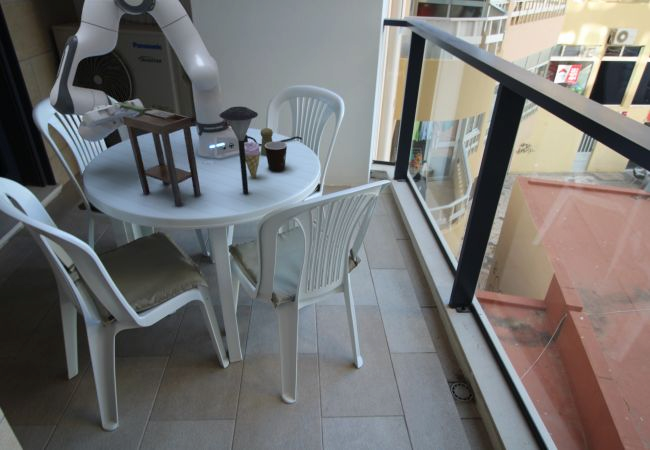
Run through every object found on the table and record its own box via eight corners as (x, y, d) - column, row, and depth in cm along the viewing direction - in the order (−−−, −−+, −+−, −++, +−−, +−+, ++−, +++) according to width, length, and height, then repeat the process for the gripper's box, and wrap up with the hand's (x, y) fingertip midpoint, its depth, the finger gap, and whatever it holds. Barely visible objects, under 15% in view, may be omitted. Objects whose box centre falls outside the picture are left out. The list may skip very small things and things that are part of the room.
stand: (141, 194, 137) (122, 116, 122) (166, 182, 145) (151, 107, 130) (178, 208, 130) (162, 126, 115) (202, 194, 138) (190, 117, 123)
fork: (113, 107, 128) (112, 103, 128) (123, 104, 131) (122, 101, 130) (165, 119, 119) (164, 116, 118) (174, 116, 121) (174, 113, 121)
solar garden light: (247, 182, 147) (240, 101, 131) (270, 193, 140) (265, 109, 124) (221, 193, 139) (210, 109, 123) (243, 205, 132) (235, 117, 116)
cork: (272, 156, 169) (271, 132, 163) (258, 155, 170) (257, 130, 164) (276, 151, 174) (275, 127, 168) (263, 150, 175) (262, 126, 169)
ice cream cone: (246, 182, 147) (243, 144, 139) (241, 176, 152) (238, 138, 144) (263, 179, 150) (261, 141, 142) (258, 173, 154) (255, 136, 146)
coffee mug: (278, 175, 153) (277, 151, 148) (261, 169, 157) (260, 146, 152) (296, 165, 162) (295, 142, 156) (279, 160, 165) (278, 137, 160)
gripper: (72, 117, 128) (88, 102, 119) (126, 103, 143) (144, 88, 134) (83, 135, 129) (100, 121, 121) (135, 120, 145) (154, 106, 136)
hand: (124, 104), depth 128 cm, fingers closed on fork
